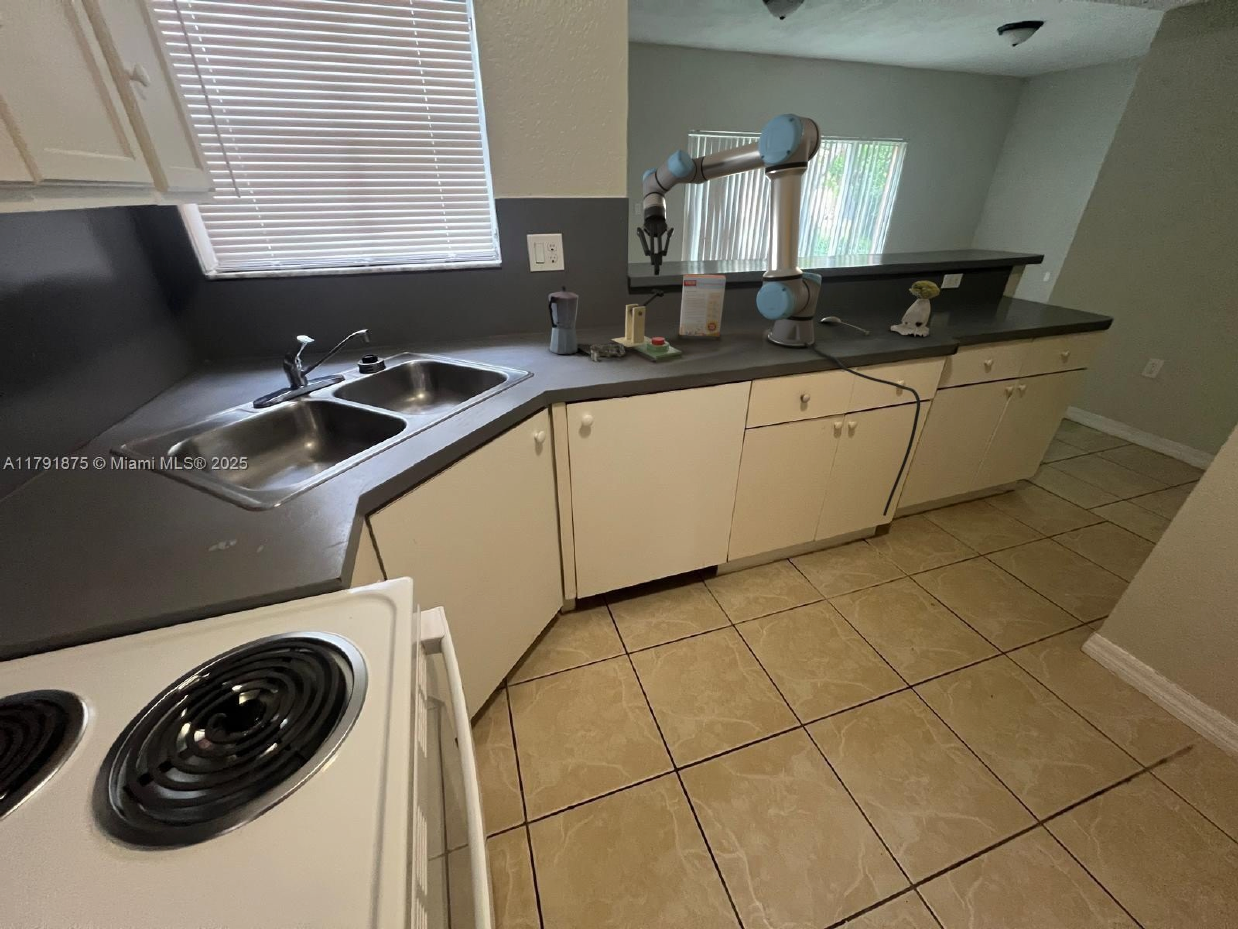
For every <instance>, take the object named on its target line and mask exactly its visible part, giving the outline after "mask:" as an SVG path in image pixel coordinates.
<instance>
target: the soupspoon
mask: <svg viewBox="0 0 1238 929" xmlns="http://www.w3.org/2000/svg"><path fill="white" fill-rule="evenodd" d="M820 322H834V323H836V324H837V323H838V324H842V325H846V326H848V327H851V328H854V329H857V330H859V331H861V332H862V333H864V335H865V336H869V335H870V330H866V329H864V328H860V327H858V326H855V325H853V324H849V323H846V322H843V321H841V319H840V318H838V317H836V316H827V317H825V318H823V319H821V320H820Z"/></svg>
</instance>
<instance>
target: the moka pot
mask: <svg viewBox="0 0 1238 929" xmlns="http://www.w3.org/2000/svg"><path fill="white" fill-rule="evenodd" d="M579 296H580V295H579V294H576V293H575V292H568V291H567V286H565V285H561V291H557V292H552V293H550V294H548V303H547V307H548V308H547V309H548V312H549V317H550V321H551V322H550V323H551V337H550V344H549V345H550V346H549V350H550V352H551V353H553V354H559V355H570V354H575V353H577V352H578V350H579V349H578V341H577V331H576V321H577V314H578V313H577V312H578V306H579V305H578V304H579Z"/></svg>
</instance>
